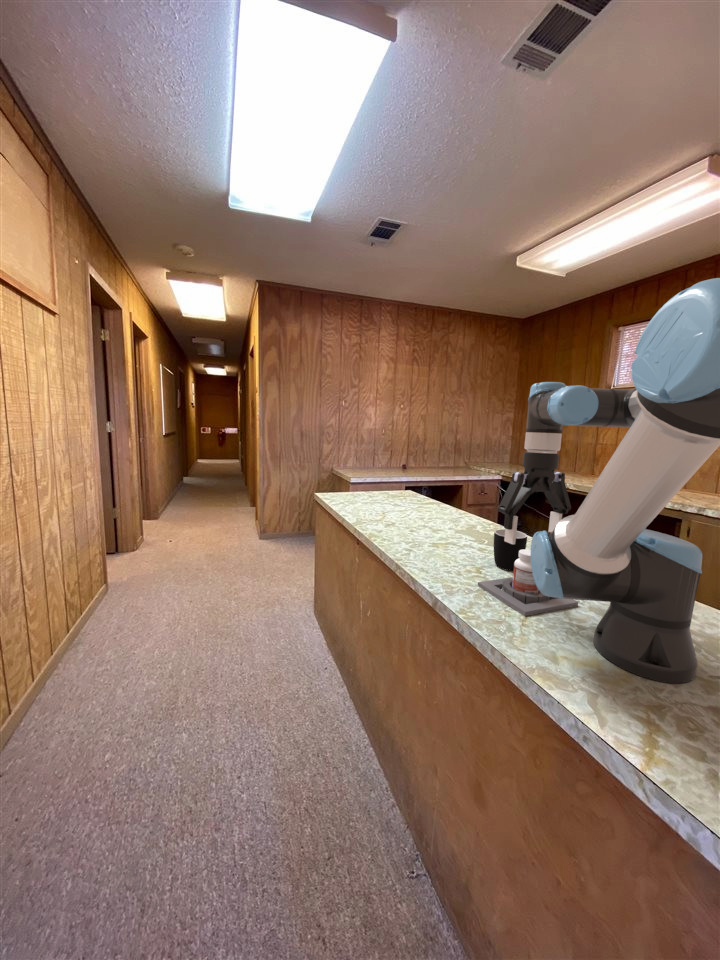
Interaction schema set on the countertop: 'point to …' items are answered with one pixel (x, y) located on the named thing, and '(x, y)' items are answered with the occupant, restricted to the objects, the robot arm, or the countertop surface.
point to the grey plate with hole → (524, 598)
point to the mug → (507, 549)
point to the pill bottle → (524, 574)
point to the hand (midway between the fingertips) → (532, 540)
